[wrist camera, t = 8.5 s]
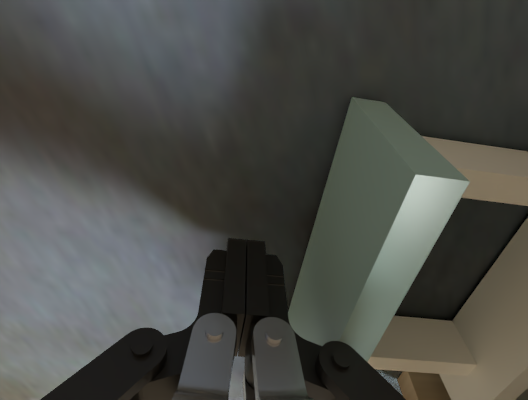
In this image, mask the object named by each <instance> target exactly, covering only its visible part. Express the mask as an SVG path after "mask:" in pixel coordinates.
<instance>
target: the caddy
mask: <svg viewBox="0 0 528 400" xmlns="http://www.w3.org/2000/svg"><path fill="white" fill-rule="evenodd" d="M461 198H468V199H476V200H484V201H492V202H500V203H507V204H515V205H523V206H528V151H521V150H514V149H507V148H501V147H494V146H487V145H480V144H473V143H466V142H459V141H452V140H446V139H439V138H432V137H425V136H421V135H420V134H419V133H418V132H416V131H415V130H414V129H413V128H412V127H411V126H410V125H409V124H408V123H407V122H406V121H405V120H404V119H403V118H401V117H400V116H399V115H398V114H397V113H396V112H395V111H394V110H393V109H392V108H391V107H390V106H389V105H388V104H387V103H385V102H381V101H374V100H368V99H361V98H355V97H352V98H351V101H350V105H349V108H348V111H347V115H346V118H345V122H344V125H343V128H342V132H341V135H340V138H339V142H338V145H337V149H336V152H335V155H334V159H333V162H332V165H331V169H330V172H329V176H328V179H327V182H326V186H325V189H324V193H323V196H322V199H321V203H320V206H319V209H318V213H317V216H316V220H315V223H314V226H313V230H312V233H311V236H310V240H309V243H308V247H307V250H306V253H305V257H304V260H303V263H302V267H301V270H300V274H299V277H298V280H297V284H296V287H295V290H294V294H293V297H292V301H291V304H290V307H289V311H288V319H289V323H290V325H291V327H292V329H293V330H294V331H295V332H296V333H297V334H298V335H299V336H300V337H302V338H303V339H305V340H307V341H310V342H313V343H315V344H318V345H320V346H323V345H324V344H325V343H327V342H330V341H340V342H343V343H346V344H348V345H349V346H351V347H352V348H353V349H354V350H355V351H356V352H357V353H358V354H359V355H360V356H361V357H363V358H364V359H365V360H366V361H367V362H368V363H369V364H370V365H371V366H372V367H373V368H374V369H379V370H393V371H406V372H420V373H434V374H439V375H440V377H441V379H442V381H443V383H444V386H445V388H446V390H447V392H448V394H449V396H450V398H451V400H528V217H527V219H526V220H525V221H524V223H523V224H522V226H521V227H520V228H519V230H518V231H517V232H516V234H515V235H514V237H513V238H512V239H511V241H510V242H509V243H508V245H507V246H506V248H505V249H504V250H503V252H502V253H501V254H500V256H499V257H498V259H497V260H496V261H495V263H494V264H493V265H492V267H491V268H490V270H489V271H488V272H487V274H486V275H485V276H484V278H483V279H482V281H481V282H480V283H479V285H478V286H477V287H476V289H475V290H474V292H473V293H472V294H471V296H470V297H469V298H468V300H467V301H466V303H465V304H464V305H463V307H462V308H461V309H460V311H459V312H458V314H457V315H456V316H455V318H454V319H453V320H452V321H447V320H436V319H425V318H414V317H403V316H394V315H395V313H396V311H397V309H398V308H399V306H400V304H401V302H402V301H403V299H404V297H405V295H406V293H407V292H408V290H409V288H410V286H411V285H412V283H413V281H414V279H415V278H416V276H417V274H418V272H419V271H420V269H421V267H422V265H423V264H424V262H425V260H426V258H427V257H428V255H429V253H430V251H431V250H432V248H433V246H434V244H435V243H436V241H437V239H438V237H439V235H440V234H441V232H442V230H443V228H444V227H445V225H446V223H447V221H448V220H449V218H450V216H451V214H452V213H453V211H454V209H455V207H456V206H457V204H458V202H459V200H460V199H461Z"/></svg>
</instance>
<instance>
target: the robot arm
mask: <svg viewBox="0 0 528 400" xmlns="http://www.w3.org/2000/svg"><path fill="white" fill-rule="evenodd" d="M284 285H285V283H284V274H283V265H282V264H281V262H280V260H279V259H278V257H277V256H276V255H267V254H266V252H265V242H264V241H255V240H247V241H246V240H244V239H234V238H228V243H227V251H223V250H213V251H212V252H211V254H210V255H209V256H208V258H207V261H206V267H205V274H204V280H203V286H202V293H201V299H200V306H199V312H198V316H197V318H196V319H195V321H194V322H193V323H192V324H191V325H190V326H189V327H188V328H186V329H184V330H182V331H180V332H176V333H172V334H168V335H163V334H162V333H161V332H159V331H158V330H156V329H153V328H140V329H136V330H134V331H132V332H130V333H129V334H127V335H126V336H124V337H123V338H122V339H120V340H119V341H118V342H116V343H115V344H114V345H112V346H111V347H110V348H108V349H107V350H106V351H104V352H103V353H102V354H100V355H99V356H98V357H96V358H95V359H94V360H92V361H91V362H90V363H88V364H87V365H86V366H84V367H83V368H82V369H80V370H79V371H78V372H76V373H75V374H74V375H72V376H71V377H70V378H68V379H67V380H66V381H64V382H63V383H62V384H60V385H59V386H58V387H57V388H55V389H54V390H53V391H51V392H50V393H49V394H47V395H46V396H45V397H43V398H42V399H41V400H228V396H229V387H230V379H231V371H232V366H233V360H234V356H237V352H238V356H241V357H245V370H244V374H243V394H244V400H406V399H405V398H404V397H403V396H402V395H401V394H400V393H399V392H398V391H397V390H396V389H395V388H393V387H392V386H391V385H390V384H389V383H388V382H387V381H386V380H385V379H384V378H383V377H382V376H381V375H380V374H379V373H378V372H377V371H376V370H375V369H374V368H373V367H372V366H371V365H370V364H369V363H368V362H367V361H366V360H365V359H364V358H363V357H361V356H360V355H359V354H358V353H357V352H356V351H355V350H354V349H353V348H352V347H351V346H349V345H348V344H346V343H343V342H340V341H330V342H327V343H325V344H324V345H323V346H320V345H318V344H315V343H313V342H310V341H307V340H305V339H303V338H302V337H300V336H299V335H298V334H297V333H296V332H295V331H294V330H293V329H292V327H291V325H290V323H289V319H288V310H287V301H286V292H285V287H284Z"/></svg>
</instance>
